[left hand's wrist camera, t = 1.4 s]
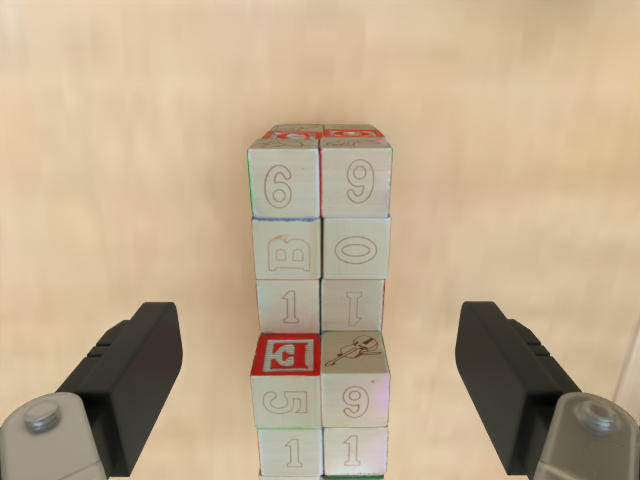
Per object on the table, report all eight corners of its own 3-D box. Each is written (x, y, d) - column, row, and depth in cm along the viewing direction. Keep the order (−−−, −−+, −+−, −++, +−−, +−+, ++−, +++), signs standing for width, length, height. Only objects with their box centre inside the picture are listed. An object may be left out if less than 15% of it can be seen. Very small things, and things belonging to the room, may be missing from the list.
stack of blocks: (272, 122, 25) (230, 158, 14) (373, 123, 25) (414, 158, 14) (283, 395, 33) (261, 562, 22) (360, 396, 33) (379, 563, 22)
